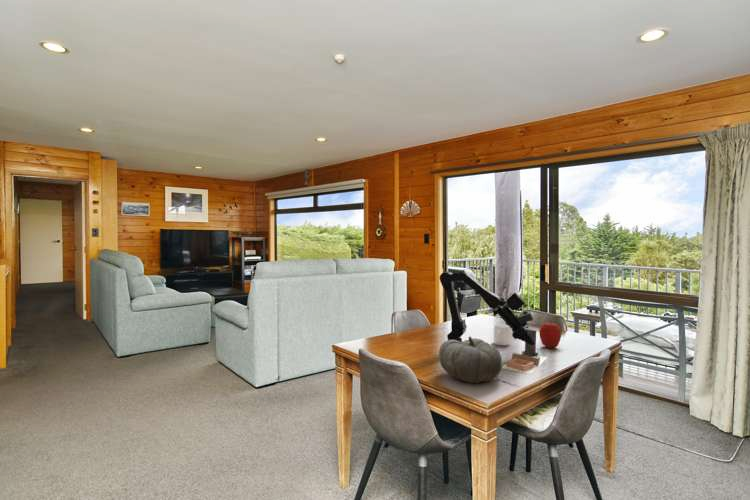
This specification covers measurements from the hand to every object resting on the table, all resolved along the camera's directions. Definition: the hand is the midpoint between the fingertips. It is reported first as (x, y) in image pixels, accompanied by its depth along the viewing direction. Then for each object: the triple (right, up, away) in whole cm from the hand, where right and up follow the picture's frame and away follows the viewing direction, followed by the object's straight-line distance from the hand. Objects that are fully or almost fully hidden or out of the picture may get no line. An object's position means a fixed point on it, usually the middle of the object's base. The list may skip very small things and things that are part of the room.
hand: (533, 343), depth 179 cm
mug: (-7, -7, +25) cm, 27 cm away
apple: (+18, -8, +23) cm, 30 cm away
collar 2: (-1, -7, +1) cm, 7 cm away
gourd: (-34, -9, -21) cm, 41 cm away
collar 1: (-10, -7, -11) cm, 17 cm away
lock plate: (-6, -8, -5) cm, 11 cm away
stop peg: (-1, -7, +1) cm, 7 cm away
